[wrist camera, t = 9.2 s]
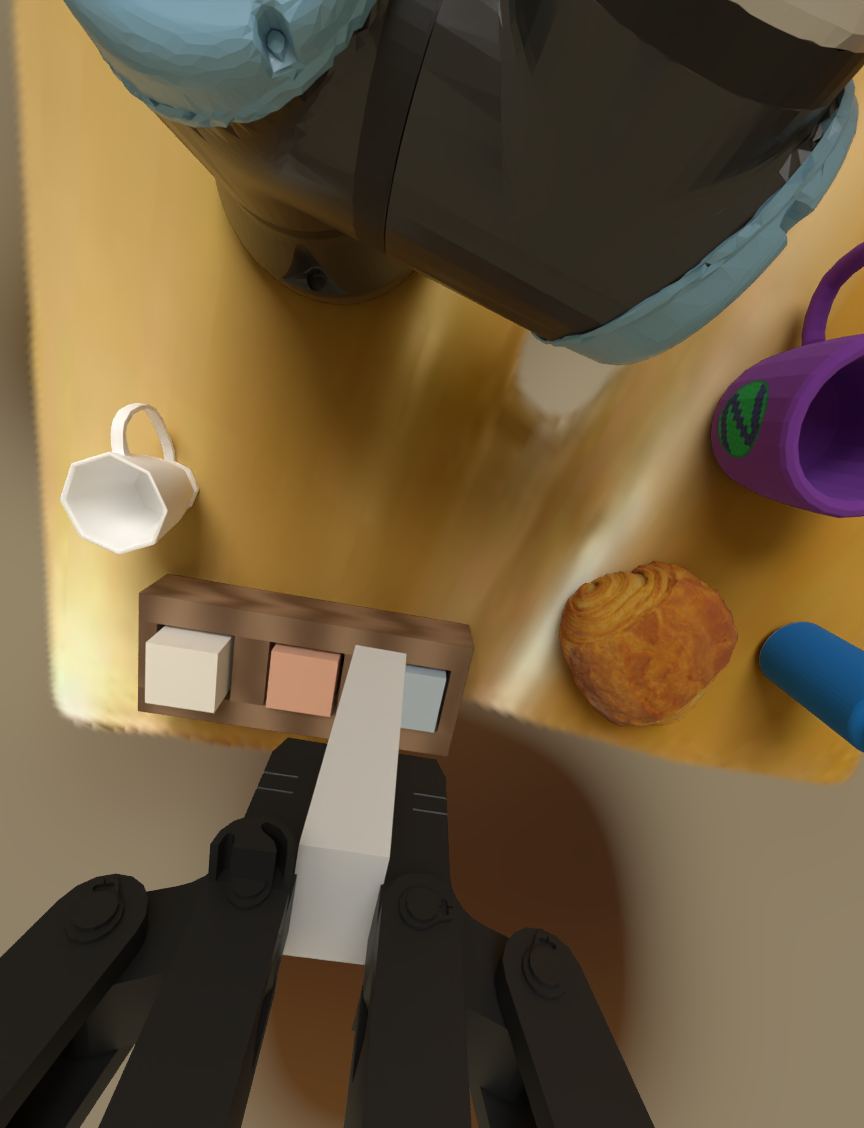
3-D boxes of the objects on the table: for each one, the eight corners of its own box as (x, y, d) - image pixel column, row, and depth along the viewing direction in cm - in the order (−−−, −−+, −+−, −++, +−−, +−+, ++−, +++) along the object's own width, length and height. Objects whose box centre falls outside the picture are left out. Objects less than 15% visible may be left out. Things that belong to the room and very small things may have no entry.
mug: (812, 498, 42) (927, 526, 32) (682, 488, 41) (761, 513, 32) (886, 267, 36) (1052, 218, 27) (738, 252, 36) (854, 197, 26)
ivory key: (171, 673, 43) (144, 702, 38) (173, 618, 41) (145, 642, 37) (234, 683, 43) (214, 713, 39) (238, 628, 41) (218, 653, 37)
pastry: (590, 709, 50) (622, 773, 43) (530, 598, 44) (556, 651, 37) (725, 649, 48) (783, 706, 41) (682, 522, 42) (742, 563, 34)
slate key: (376, 694, 46) (371, 723, 42) (385, 643, 44) (381, 668, 40) (432, 702, 46) (433, 732, 42) (444, 652, 44) (446, 678, 40)
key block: (164, 682, 46) (138, 710, 41) (167, 574, 42) (138, 593, 38) (445, 724, 48) (447, 756, 44) (468, 625, 45) (473, 648, 40)
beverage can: (780, 691, 47) (893, 782, 36) (739, 652, 46) (844, 734, 35) (836, 646, 46) (972, 726, 35) (796, 604, 45) (925, 673, 33)
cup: (131, 522, 41) (65, 550, 33) (122, 398, 38) (46, 396, 30) (216, 531, 41) (169, 560, 34) (213, 409, 38) (161, 410, 31)
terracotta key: (280, 679, 45) (265, 707, 41) (286, 627, 43) (271, 650, 39) (338, 688, 45) (329, 717, 41) (346, 636, 44) (338, 661, 40)
